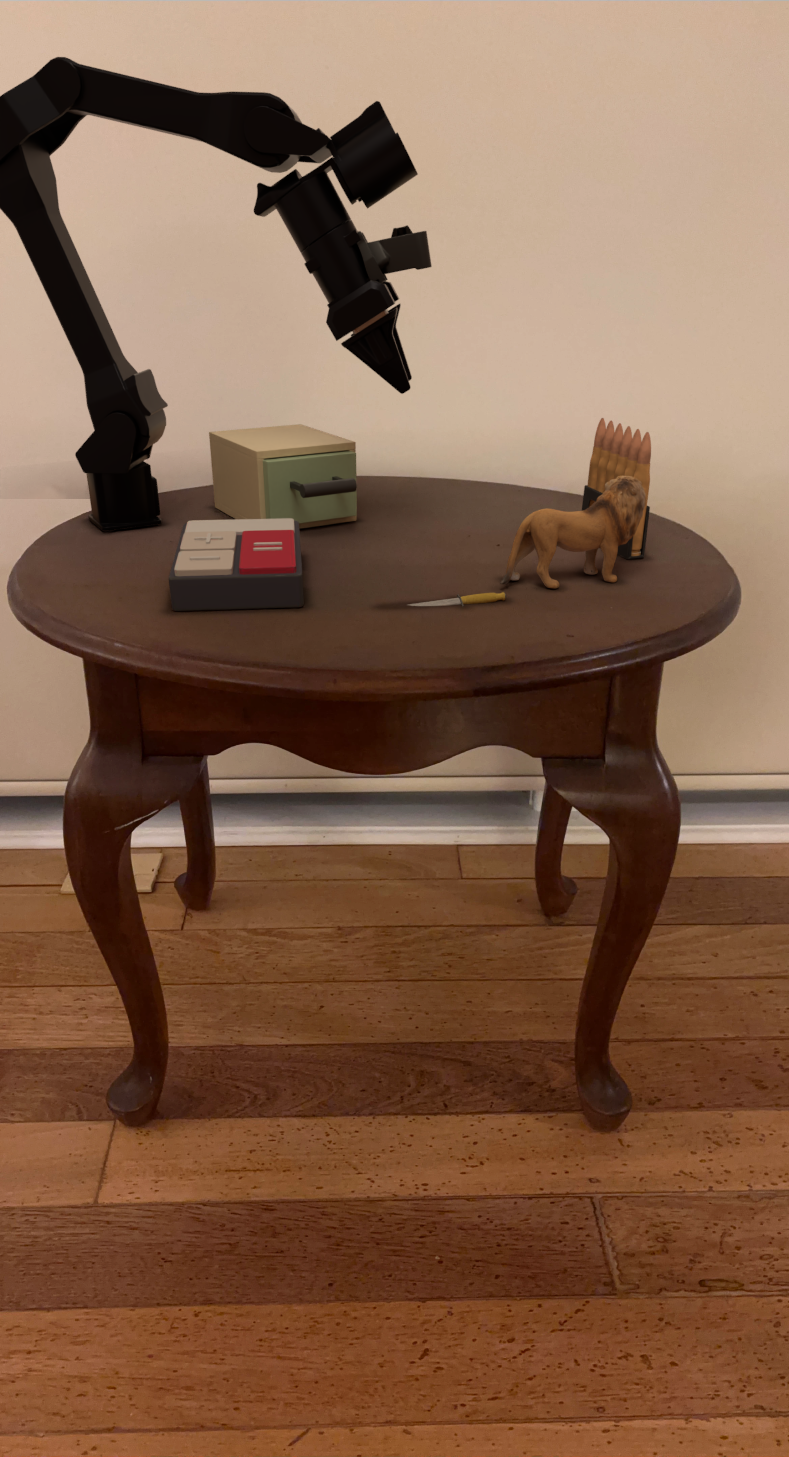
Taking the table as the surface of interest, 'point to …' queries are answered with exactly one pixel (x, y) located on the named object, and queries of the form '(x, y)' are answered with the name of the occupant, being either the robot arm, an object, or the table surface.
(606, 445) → the ammunition clip
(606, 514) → the lion figurine
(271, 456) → the cabinet
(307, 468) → the drawer
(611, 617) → the table surface
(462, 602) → the dagger
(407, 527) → the table surface
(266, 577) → the calculator
